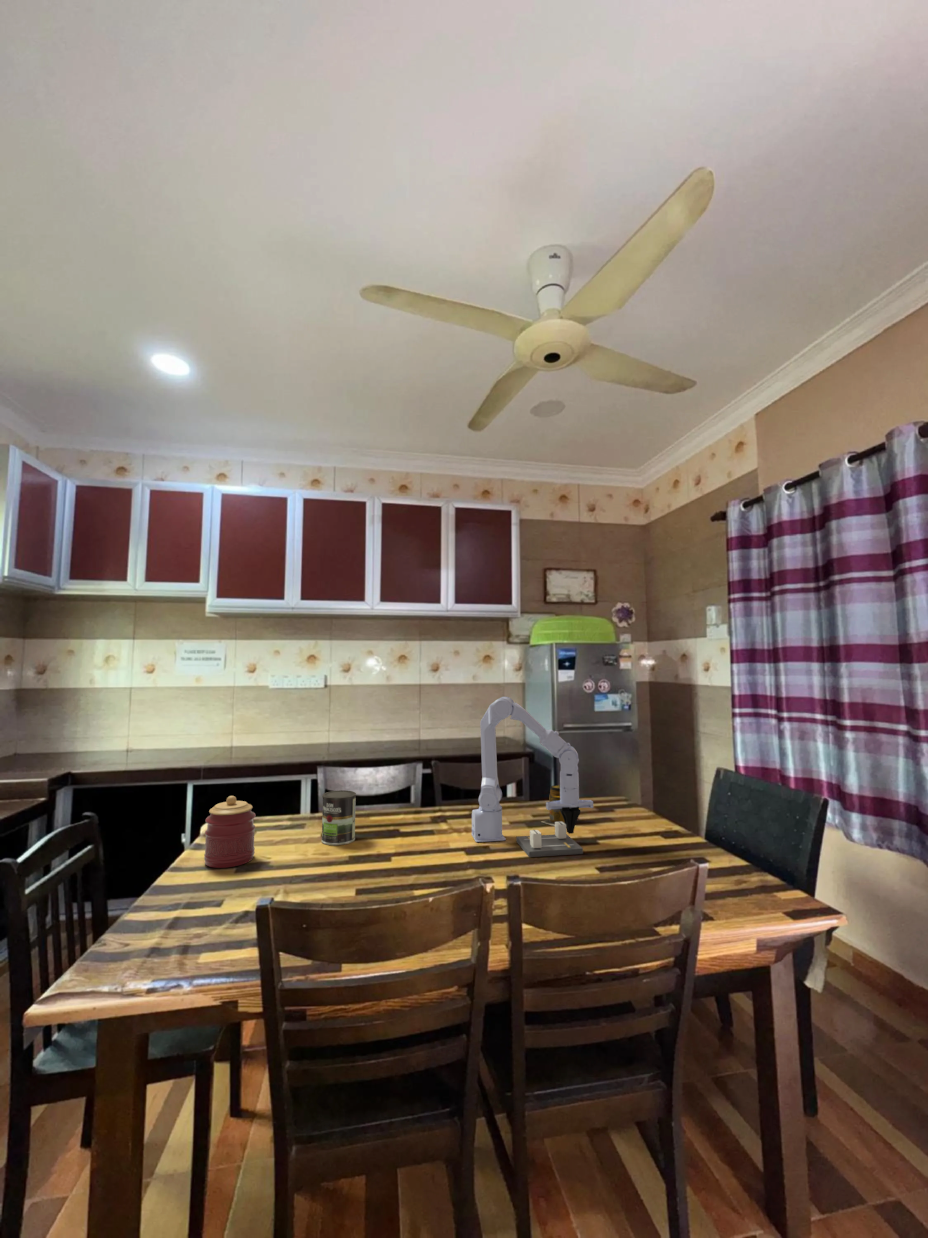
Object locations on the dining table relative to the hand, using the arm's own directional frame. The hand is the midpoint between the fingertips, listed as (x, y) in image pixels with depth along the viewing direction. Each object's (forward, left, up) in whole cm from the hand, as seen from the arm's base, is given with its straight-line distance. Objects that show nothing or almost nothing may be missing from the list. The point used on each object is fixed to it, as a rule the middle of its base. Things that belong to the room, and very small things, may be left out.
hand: (570, 832), depth 170 cm
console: (-8, -4, -3) cm, 9 cm away
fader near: (-13, -7, -1) cm, 15 cm away
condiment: (+3, +21, -3) cm, 22 cm away
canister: (-99, +1, -3) cm, 99 cm away
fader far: (-3, 0, -1) cm, 3 cm away
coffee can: (-70, +14, -3) cm, 72 cm away
